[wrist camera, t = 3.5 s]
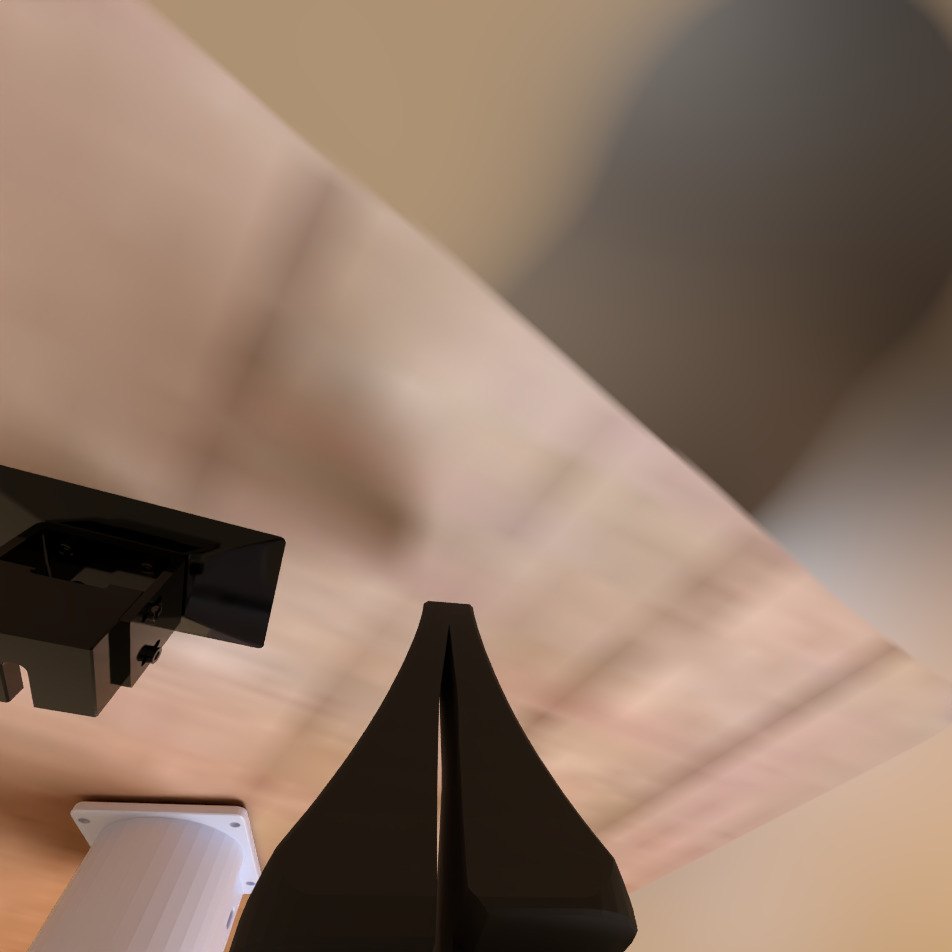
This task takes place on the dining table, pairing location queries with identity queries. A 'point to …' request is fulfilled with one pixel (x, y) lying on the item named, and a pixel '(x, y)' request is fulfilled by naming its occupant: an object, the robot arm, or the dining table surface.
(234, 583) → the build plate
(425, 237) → the dining table surface
